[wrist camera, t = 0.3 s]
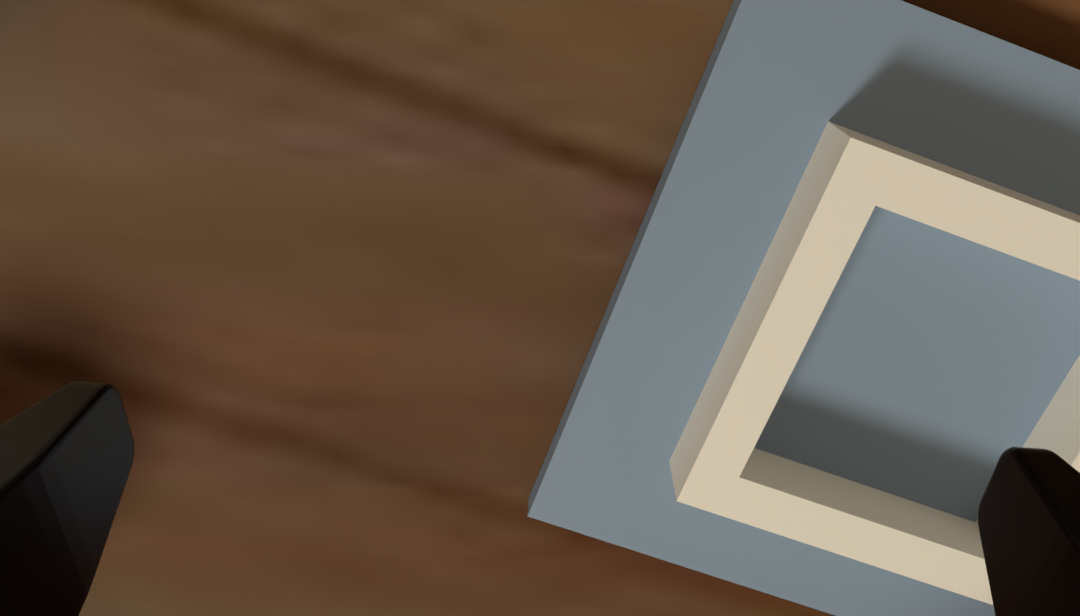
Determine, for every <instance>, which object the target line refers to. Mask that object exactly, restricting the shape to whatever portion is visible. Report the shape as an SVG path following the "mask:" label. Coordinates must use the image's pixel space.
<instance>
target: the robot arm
mask: <svg viewBox="0 0 1080 616" xmlns="http://www.w3.org/2000/svg"><path fill="white" fill-rule="evenodd" d="M133 458H134V441H133V437H132V433H131V430H130V427H129V423H128V420H127V416H126V413H125V410H124V406H123V403H122V399H121V396H120V394H119V391H118V390H117V389H116V387H115V386H113V385H111V384H109V383H100V382H86V381H76V382H71V383H69V384H67V385H65V386H63V387H62V388H60V389H58V390H57V391H55V392H54V393H52V394H50V395H49V396H47V397H45V398H44V399H42V400H41V401H39V402H37V403H36V404H34V405H32V406H31V407H29V408H28V409H26V410H24V411H23V412H21V413H19V414H18V415H16V416H15V417H13V418H11V419H10V420H8V421H6V422H5V423H3V424H2V425H0V616H79V613H80V611H81V609H82V606H83V604H84V602H85V600H86V597H87V595H88V592H89V590H90V587H91V584H92V582H93V579H94V576H95V573H96V570H97V568H98V565H99V562H100V559H101V556H102V553H103V550H104V547H105V544H106V541H107V538H108V535H109V532H110V529H111V526H112V523H113V520H114V517H115V514H116V511H117V508H118V505H119V502H120V499H121V496H122V493H123V490H124V487H125V484H126V481H127V478H128V475H129V472H130V469H131V466H132V463H133ZM978 528H979V533H980V538H981V544H982V549H983V554H984V559H985V565H986V570H987V575H988V580H989V585H990V591H991V596H992V601H993V606H994V612H995V616H1080V472H1078V471H1077V470H1076V469H1075V468H1073V467H1072V466H1071V465H1070V464H1068V463H1067V462H1066V461H1065V460H1064V459H1062V458H1061V457H1060V456H1059V455H1057V454H1056V453H1054V452H1053V451H1050V450H1047V449H1040V448H1026V447H1011V448H1008V449H1006V450H1005V451H1004V452H1003V453H1002V454H1001V456H1000V458H999V460H998V462H997V464H996V466H995V469H994V471H993V473H992V475H991V478H990V480H989V482H988V484H987V486H986V489H985V491H984V493H983V495H982V498H981V500H980V503H979V507H978Z"/></svg>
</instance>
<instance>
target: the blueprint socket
mask: <svg viewBox="0 0 1080 616" xmlns="http://www.w3.org/2000/svg"><path fill="white" fill-rule="evenodd" d="M1011 447H1026V448H1040V449H1047V450H1050V451H1053V452H1054V453H1056V454H1057V455H1059V456H1060V457H1061V458H1062V459H1064V460H1065V461H1066V462H1067V463H1068V464H1070V465H1071V466H1072V467H1073V468H1075V469H1076V470H1077V471H1078V472H1080V70H1079V69H1076V68H1073V67H1071V66H1068V65H1066V64H1063V63H1061V62H1058V61H1056V60H1053V59H1050V58H1048V57H1045V56H1043V55H1040V54H1038V53H1035V52H1032V51H1030V50H1027V49H1025V48H1022V47H1020V46H1017V45H1015V44H1012V43H1009V42H1007V41H1004V40H1002V39H999V38H997V37H994V36H992V35H989V34H986V33H984V32H981V31H979V30H976V29H974V28H971V27H968V26H966V25H963V24H961V23H958V22H956V21H953V20H951V19H948V18H945V17H943V16H940V15H938V14H935V13H933V12H930V11H928V10H925V9H922V8H920V7H917V6H915V5H912V4H910V3H907V2H904V1H902V0H733V3H732V5H731V8H730V10H729V13H728V15H727V17H726V20H725V22H724V25H723V27H722V30H721V32H720V34H719V37H718V39H717V42H716V44H715V47H714V49H713V51H712V54H711V56H710V59H709V61H708V64H707V66H706V68H705V71H704V73H703V76H702V78H701V81H700V83H699V85H698V88H697V90H696V93H695V95H694V98H693V100H692V102H691V105H690V107H689V110H688V112H687V115H686V117H685V120H684V122H683V124H682V127H681V129H680V132H679V134H678V137H677V139H676V141H675V144H674V146H673V149H672V151H671V154H670V156H669V158H668V161H667V163H666V166H665V168H664V171H663V173H662V175H661V178H660V180H659V183H658V185H657V188H656V190H655V192H654V195H653V197H652V200H651V202H650V205H649V207H648V209H647V212H646V214H645V217H644V219H643V222H642V224H641V226H640V229H639V231H638V234H637V236H636V239H635V241H634V243H633V246H632V248H631V251H630V253H629V256H628V258H627V260H626V263H625V265H624V268H623V270H622V273H621V275H620V277H619V280H618V282H617V285H616V287H615V290H614V292H613V294H612V297H611V299H610V302H609V304H608V307H607V309H606V311H605V314H604V316H603V319H602V321H601V324H600V326H599V329H598V331H597V333H596V336H595V338H594V341H593V343H592V346H591V348H590V350H589V353H588V355H587V358H586V360H585V363H584V365H583V367H582V370H581V372H580V375H579V377H578V380H577V382H576V384H575V387H574V389H573V392H572V394H571V397H570V399H569V401H568V404H567V406H566V409H565V411H564V414H563V416H562V418H561V421H560V423H559V426H558V428H557V431H556V433H555V435H554V438H553V440H552V443H551V445H550V448H549V450H548V452H547V455H546V457H545V460H544V462H543V465H542V467H541V469H540V472H539V474H538V477H537V479H536V482H535V484H534V486H533V489H532V491H531V494H530V496H529V505H528V517H531V518H534V519H537V520H541V521H544V522H547V523H550V524H553V525H556V526H559V527H562V528H565V529H569V530H572V531H575V532H578V533H581V534H584V535H587V536H590V537H593V538H596V539H600V540H603V541H606V542H609V543H612V544H615V545H618V546H621V547H624V548H628V549H631V550H634V551H637V552H640V553H643V554H646V555H649V556H652V557H655V558H659V559H662V560H665V561H668V562H671V563H674V564H677V565H680V566H683V567H687V568H690V569H693V570H696V571H699V572H702V573H705V574H708V575H711V576H714V577H718V578H721V579H724V580H727V581H730V582H733V583H736V584H739V585H742V586H745V587H749V588H752V589H755V590H758V591H761V592H764V593H767V594H770V595H773V596H777V597H780V598H783V599H786V600H789V601H792V602H795V603H798V604H801V605H804V606H808V607H811V608H814V609H817V610H820V611H823V612H826V613H829V614H832V615H836V616H995V612H994V606H993V601H992V596H991V591H990V585H989V580H988V575H987V570H986V565H985V559H984V554H983V549H982V544H981V538H980V533H979V528H978V507H979V503H980V500H981V498H982V495H983V493H984V491H985V489H986V486H987V484H988V482H989V480H990V478H991V475H992V473H993V471H994V469H995V466H996V464H997V462H998V460H999V458H1000V456H1001V454H1002V453H1003V452H1004V451H1005V450H1006V449H1008V448H1011Z"/></svg>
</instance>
